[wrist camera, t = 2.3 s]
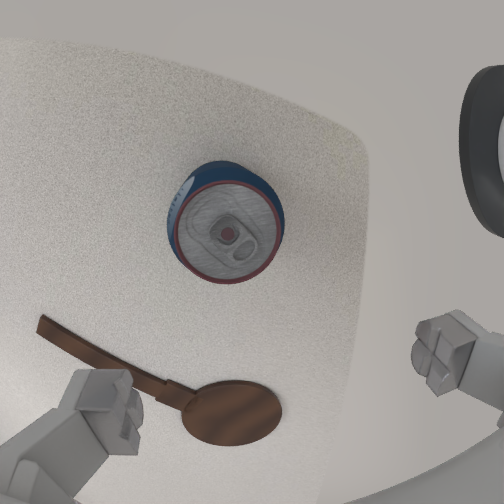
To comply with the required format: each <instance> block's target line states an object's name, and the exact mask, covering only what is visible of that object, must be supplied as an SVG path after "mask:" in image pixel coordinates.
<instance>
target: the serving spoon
mask: <svg viewBox="0 0 504 504" xmlns="http://www.w3.org/2000/svg"><path fill="white" fill-rule="evenodd" d="M36 333H37V334H39V335H40V336H42V337H43V338H45V339H46V340H48V341H50V342H51V343H53V344H54V345H56V346H58V347H59V348H61V349H62V350H64V351H66V352H67V353H69V354H71V355H73V356H74V357H76V358H78V359H80V360H81V361H83V362H85V363H87V364H88V365H90V366H92V367H94V368H96V369H127V370H129V371H130V373H131V376H132V378H133V380H134V381H133V385H132V387H134V388H136V389H138V390H140V391H142V392H145V393H147V394H149V395H151V396H154V397H156V398H155V400H156V401H158V402H161V403H163V404H165V405H168V406H170V407H173V408H175V409H178V410H180V411H182V422H183V425H184V427H185V428H186V430H187V431H188V432H189V433H190V434H191V435H192V436H194V437H195V438H197V439H199V440H201V441H203V442H206V443H209V444H212V445H218V446H239V445H245V444H249V443H252V442H255V441H258V440H260V439H262V438H264V437H265V436H267V435H268V434H270V433H271V432H272V431H273V430H274V429H275V428H276V427H277V425H278V424H279V422H280V419H281V416H282V408H281V405H280V402H279V400H278V398H277V396H276V395H275V394H274V393H273V392H272V391H270V390H269V389H267V388H266V387H264V386H261V385H259V384H256V383H252V382H247V381H223V382H217V383H213V384H210V385H207V386H205V387H202V388H200V389H199V390H197V391H194V390H192V389H189V388H187V387H185V386H182V385H180V384H178V383H175V382H173V381H171V380H168V379H167V381H166V382H165V381H163V380H161V379H159V378H157V377H154V376H152V375H150V374H148V373H146V372H144V371H142V370H140V369H138V368H136V367H134V366H132V365H130V364H128V363H126V362H124V361H122V360H120V359H118V358H116V357H114V356H112V355H110V354H108V353H106V352H105V351H103V350H101V349H99V348H97V347H96V346H94V345H92V344H90V343H88V342H87V341H85V340H83V339H82V338H80V337H78V336H76V335H75V334H73V333H71V332H70V331H68V330H66V329H65V328H63V327H62V326H60V325H58V324H57V323H55V322H54V321H52V320H51V319H49V318H47V317H46V316H44V315H42V316H41V317H40V320H39V324H38V328H37V331H36Z"/></svg>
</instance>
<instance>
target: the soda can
mask: <svg viewBox="0 0 504 504" xmlns="http://www.w3.org/2000/svg"><path fill="white" fill-rule="evenodd" d="M284 226H285V221H284V213H283V208H282V205H281V202H280V200H279V198H278V196H277V195H276V193H275V192H274V190H273V189H272V188H271V186H270V185H269V184H268V183H267V182H266V181H264V180H263V179H262V178H260V177H259V176H257V175H256V174H254V173H252V172H251V171H249V170H247V169H246V168H244V167H242V166H241V165H239V164H236V163H233V162H229V161H213V162H209V163H206V164H204V165H202V166H200V167H199V168H197V169H196V170H195V171H194V172H192V173H191V175H190V176H189V177H188V178H187V180H186V181H185V182H184V184H183V185H182V187H181V188H180V189H179V191H178V192H177V194H176V195H175V197H174V199H173V201H172V203H171V205H170V208H169V212H168V217H167V233H168V239H169V242H170V245H171V248H172V250H173V252H174V253H175V255H176V257H177V258H178V259H179V261H180V262H181V263H182V264H183V265H184V266H185V267H186V268H188V269H189V270H190V271H191V272H193V273H194V274H195V275H197V276H198V277H200V278H202V279H204V280H206V281H209V282H213V283H217V284H236V283H240V282H244V281H247V280H249V279H251V278H253V277H255V276H257V275H258V274H259V273H261V272H262V271H263V270H264V269H265V268H266V267H267V266H268V265H269V264H270V263H271V261H272V260H273V258H274V257H275V255H276V253H277V251H278V249H279V247H280V244H281V242H282V238H283V234H284Z"/></svg>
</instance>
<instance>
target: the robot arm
mask: <svg viewBox="0 0 504 504" xmlns="http://www.w3.org/2000/svg"><path fill="white" fill-rule="evenodd" d="M498 158H499V166H500V171H501V176H502V179H503V182H504V117H503V119H502V122H501V125H500V130H499V137H498ZM415 334H416V336H417V338H418V339H417V340H416V342H415V343H414V345H413V346H412V351H411V360H412V365H413V367H414V369H415V370H416V372H417V373H418V374H419V375H422V376H424V377H426V384H427V385H428V386H429V387H430V389H431V390H432V391H433V392H434V394H435V395H436V396H437V397H438V396H440V395H443V394H445V393H447V392H450V391H452V390H454V389H456V388H458V390H460V391H463V392H465V393H466V394H468V395H471V396H472V397H475V398H476V399H479V400H481V401H483V402H485V403H487V404H489V405H491V406H493V407H495V408H497V409H499V410H501V411H503V413H502V415H501V416H500V418H499V420H498V422H497V426H498V427H499V428H500V429H498V430H497V431H495V432H494V433H492V434H491V435H490V436H488V437H486V438H485V439H483V440H482V441H480V442H479V443H477V444H475V445H474V446H472V447H471V448H469V449H467V450H466V451H464V452H462V453H461V454H459V455H457V456H455V457H453V458H452V459H450V460H448V461H446V462H444V463H442V464H440V465H439V466H437V467H435V468H433V469H430V470H428V471H426V472H424V473H422V474H420V475H418V476H416V477H414V478H411V479H409V480H407V481H405V482H402V483H400V484H397V485H395V486H393V487H390V488H388V489H385V490H382V491H380V492H377V493H374V494H372V495H369V496H366V497H363V498H360V499H357V500H354V501H351V502H347V503H344V504H504V335H502V334H499V333H495V332H492V333H489V332H488V331H486V330H485V329H484V328H483V327H482V326H480V325H479V324H478V323H476V322H475V321H474V320H473V319H471V318H470V317H469V316H467V315H466V314H465V313H464V312H462V311H460V310H454V311H451V312H448V313H445V314H444V315H440V316H437V317H434V318H431V319H427V320H424V321H421V322H419V324H418V326H417V328H416V332H415ZM133 381H134V380H133V378H132V376H131V373H130V371H129V370H127V369H78V370H76V371H75V372H74V374H73V376H72V378H71V380H70V382H69V384H68V386H67V388H66V390H65V393H64V395H63V397H62V399H61V401H60V404H59V406H58V408H57V409H56V408H52V409H51V410H50V411H48V412H47V413H45V414H44V415H43V416H41V417H40V418H39V419H37V420H36V421H34V422H33V423H32V424H30V425H29V426H28V427H26V428H25V429H23V430H22V431H21V432H19V433H18V434H16V435H15V436H14V437H12V438H11V439H9V440H8V441H7V442H5V443H4V444H2V445H1V446H0V504H78V503H77V502H76V501H75V500H74V499H73V498H74V496H75V495H76V494H77V493H78V492H79V491H80V490H81V488H82V487H83V486H84V485H85V484H86V483H87V481H88V480H89V479H90V478H91V477H92V476H93V474H94V473H95V472H96V471H97V470H98V469H99V467H100V466H101V465H102V464H103V463H104V462H105V460H106V459H107V458H108V457H109V456H108V455H138V450H139V443H140V435H139V433H138V431H137V429H138V428H139V427H140V426H141V425H142V424H143V417H144V414H143V404H142V400H141V397H140V395H139V392H137V391H136V390H135V389H133V388H132V385H133Z"/></svg>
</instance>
